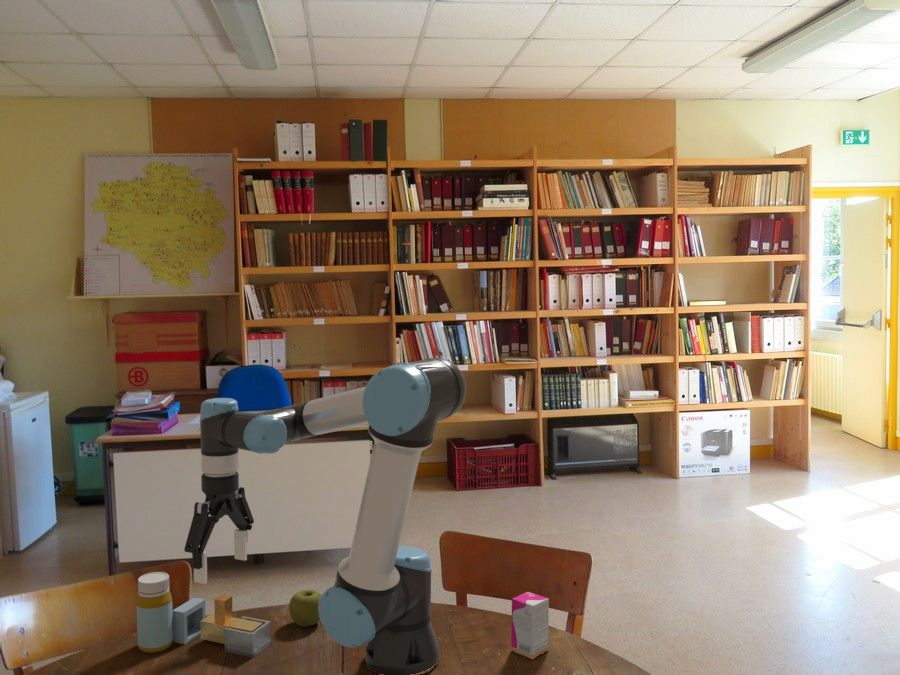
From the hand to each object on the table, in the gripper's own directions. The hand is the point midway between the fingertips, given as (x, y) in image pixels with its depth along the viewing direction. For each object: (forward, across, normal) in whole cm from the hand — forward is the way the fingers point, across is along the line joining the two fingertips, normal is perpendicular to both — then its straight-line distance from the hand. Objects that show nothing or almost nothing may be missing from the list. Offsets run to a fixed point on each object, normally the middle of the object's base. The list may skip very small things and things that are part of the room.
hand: (221, 570), depth 167 cm
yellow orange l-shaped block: (+15, 0, +2) cm, 15 cm away
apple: (+16, -14, +12) cm, 25 cm away
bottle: (+16, +6, -12) cm, 21 cm away
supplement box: (+15, -20, +62) cm, 67 cm away
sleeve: (+16, 0, +6) cm, 17 cm away
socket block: (+16, 0, -8) cm, 18 cm away
